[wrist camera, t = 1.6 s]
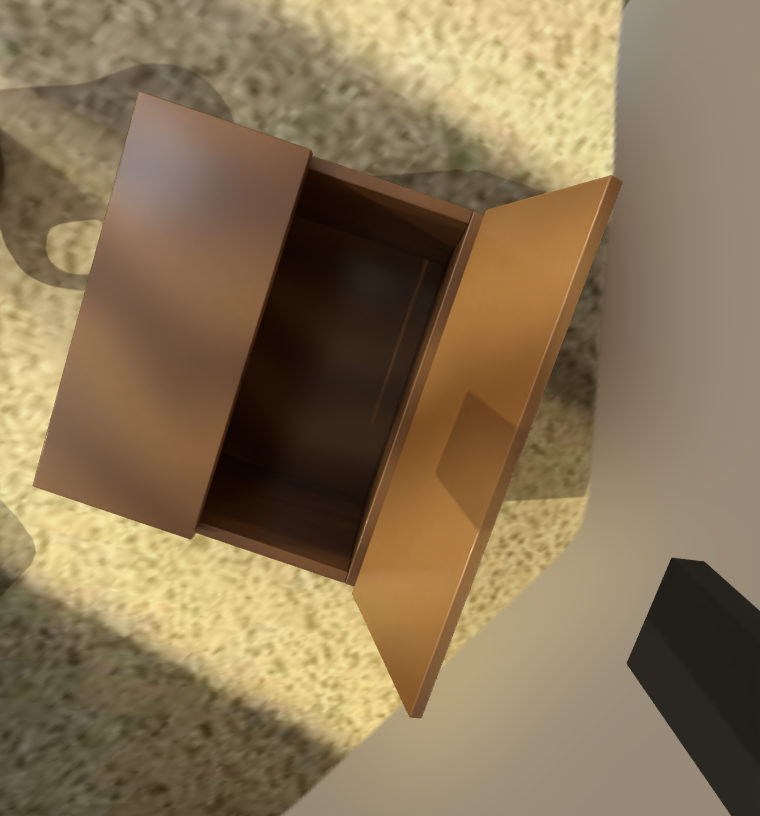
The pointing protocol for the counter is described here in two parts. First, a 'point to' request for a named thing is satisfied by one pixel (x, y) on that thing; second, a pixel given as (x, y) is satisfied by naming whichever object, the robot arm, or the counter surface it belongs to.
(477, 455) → the flap
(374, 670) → the counter surface
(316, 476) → the carton
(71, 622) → the counter surface
